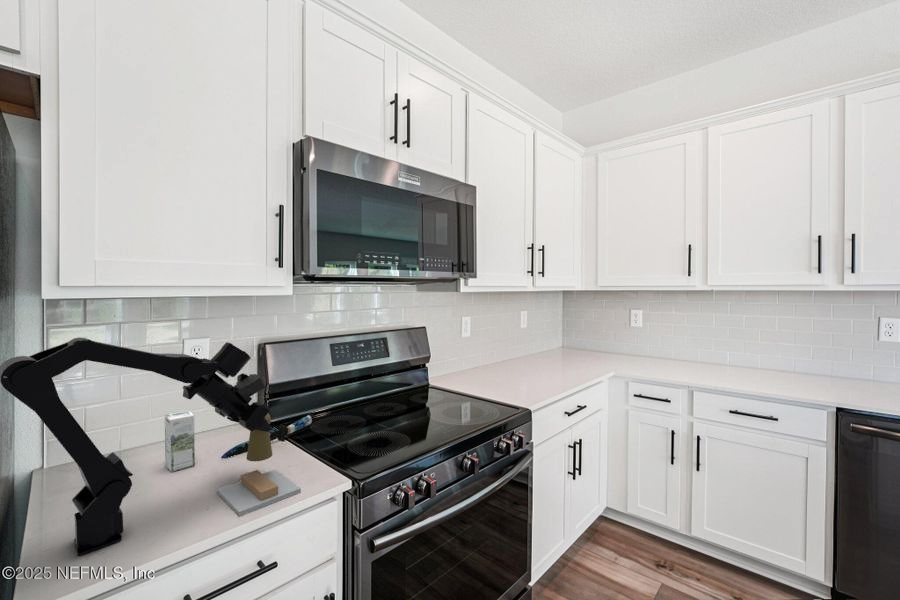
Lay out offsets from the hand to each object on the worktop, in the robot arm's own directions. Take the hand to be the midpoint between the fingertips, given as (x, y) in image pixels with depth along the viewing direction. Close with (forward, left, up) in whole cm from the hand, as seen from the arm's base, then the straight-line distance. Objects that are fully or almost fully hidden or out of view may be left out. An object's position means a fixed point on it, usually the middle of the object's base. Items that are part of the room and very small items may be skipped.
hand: (265, 427), depth 105 cm
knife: (+11, +21, -13) cm, 27 cm away
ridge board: (-4, -7, -13) cm, 15 cm away
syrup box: (-13, +23, -13) cm, 30 cm away
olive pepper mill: (-1, 0, -7) cm, 7 cm away
